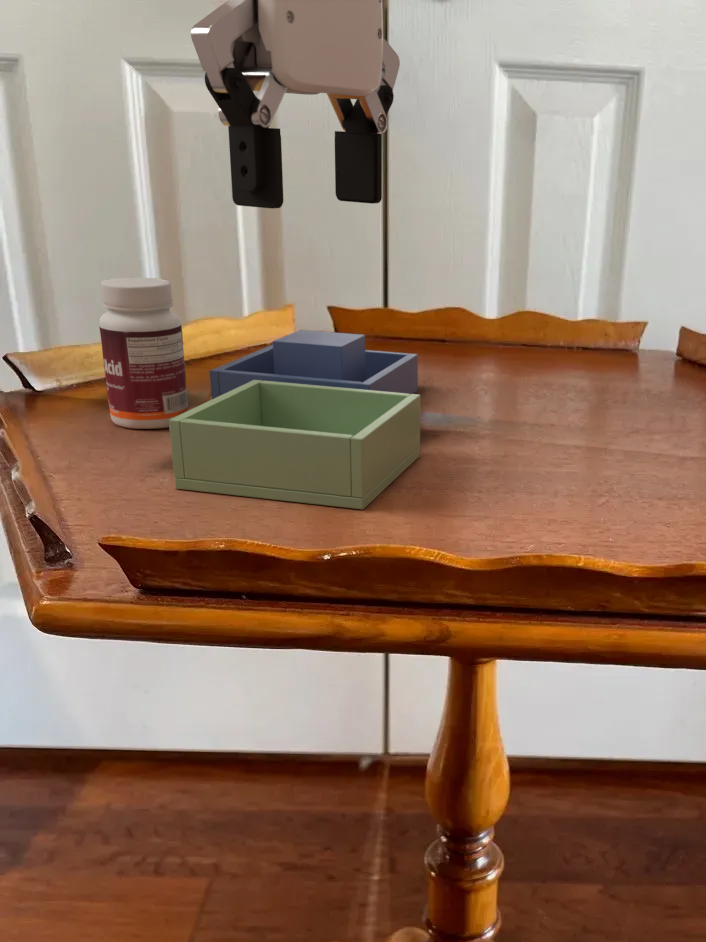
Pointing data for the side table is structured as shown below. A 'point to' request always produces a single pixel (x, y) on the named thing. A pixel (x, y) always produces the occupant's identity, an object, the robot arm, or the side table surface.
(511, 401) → the side table surface
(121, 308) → the pill bottle
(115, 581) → the side table surface
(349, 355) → the block
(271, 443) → the bin green
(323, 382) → the bin blue
